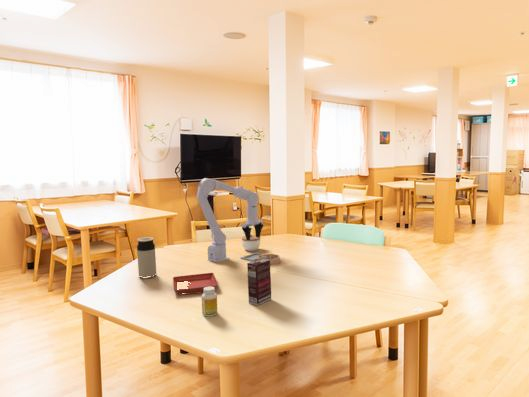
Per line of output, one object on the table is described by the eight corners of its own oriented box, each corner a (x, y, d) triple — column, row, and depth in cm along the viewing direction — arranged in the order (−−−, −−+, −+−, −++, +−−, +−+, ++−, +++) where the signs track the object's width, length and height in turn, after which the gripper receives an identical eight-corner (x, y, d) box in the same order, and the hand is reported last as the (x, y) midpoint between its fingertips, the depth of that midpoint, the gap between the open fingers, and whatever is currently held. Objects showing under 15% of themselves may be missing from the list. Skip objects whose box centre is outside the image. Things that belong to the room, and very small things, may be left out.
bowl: (270, 266, 201) (269, 260, 200) (253, 262, 208) (253, 257, 207) (283, 261, 209) (283, 256, 208) (267, 258, 216) (267, 252, 216)
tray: (253, 262, 209) (252, 260, 209) (240, 259, 215) (240, 257, 215) (268, 257, 218) (268, 255, 218) (255, 254, 224) (255, 252, 224)
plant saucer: (174, 297, 162) (173, 289, 162) (173, 283, 180) (172, 276, 179) (218, 292, 166) (218, 284, 166) (213, 279, 184) (213, 272, 183)
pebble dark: (270, 265, 206) (274, 261, 204) (265, 259, 206) (269, 256, 204) (273, 261, 209) (277, 257, 207) (268, 256, 209) (272, 252, 207)
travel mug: (151, 279, 185) (149, 240, 183) (135, 278, 187) (133, 240, 184) (159, 274, 193) (157, 237, 191) (144, 273, 194) (141, 236, 192)
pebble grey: (268, 263, 206) (263, 260, 204) (263, 263, 208) (258, 261, 206) (269, 256, 207) (265, 254, 205) (264, 257, 210) (260, 254, 208)
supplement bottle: (199, 314, 144) (198, 288, 143) (211, 309, 148) (210, 284, 147) (208, 318, 140) (207, 291, 139) (220, 313, 144) (219, 287, 143)
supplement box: (262, 296, 160) (261, 257, 158) (271, 299, 157) (270, 259, 155) (247, 303, 153) (246, 262, 151) (257, 306, 150) (256, 264, 148)
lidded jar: (239, 249, 237) (239, 233, 236) (256, 247, 241) (255, 231, 240) (246, 253, 227) (246, 237, 226) (263, 251, 231) (263, 235, 230)
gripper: (248, 216, 210) (249, 241, 212) (266, 212, 221) (267, 237, 222) (238, 215, 215) (239, 240, 216) (257, 211, 225) (257, 235, 227)
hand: (253, 238), depth 220 cm, fingers open, 7 cm apart
